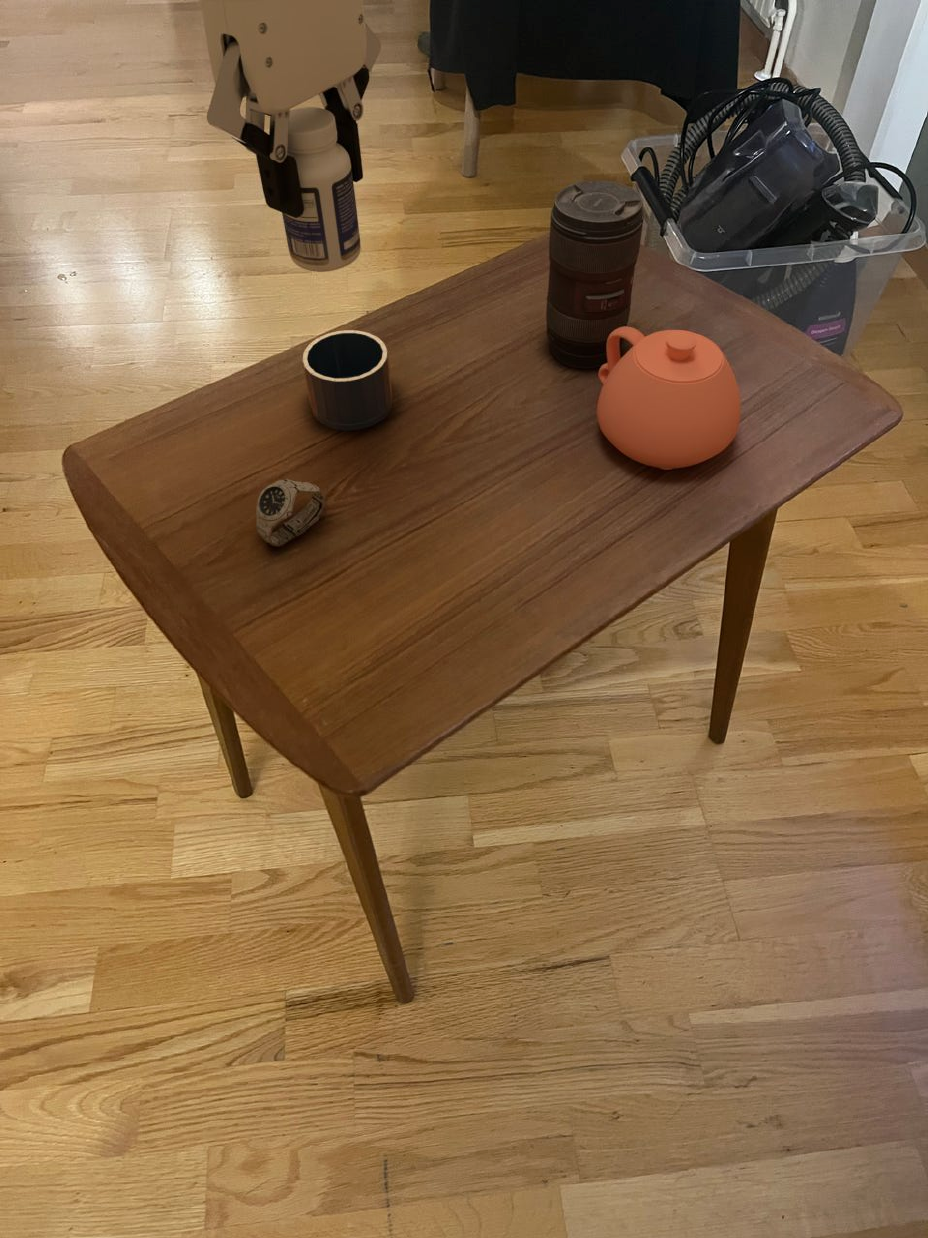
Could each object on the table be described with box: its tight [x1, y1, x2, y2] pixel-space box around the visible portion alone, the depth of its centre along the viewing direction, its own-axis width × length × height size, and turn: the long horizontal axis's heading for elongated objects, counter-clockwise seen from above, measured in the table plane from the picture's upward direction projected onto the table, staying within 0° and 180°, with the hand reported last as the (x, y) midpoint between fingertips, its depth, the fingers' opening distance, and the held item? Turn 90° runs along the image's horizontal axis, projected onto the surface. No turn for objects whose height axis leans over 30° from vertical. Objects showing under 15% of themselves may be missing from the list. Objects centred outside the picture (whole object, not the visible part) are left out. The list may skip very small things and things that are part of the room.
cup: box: [301, 329, 394, 432], centre depth 83 cm, size 8×8×6 cm
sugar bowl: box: [596, 325, 742, 471], centre depth 78 cm, size 12×14×10 cm
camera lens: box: [545, 180, 645, 369], centre depth 84 cm, size 8×8×15 cm
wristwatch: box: [255, 478, 326, 548], centre depth 74 cm, size 4×6×5 cm, turn 135°
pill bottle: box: [281, 106, 362, 273], centre depth 65 cm, size 5×5×10 cm
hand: (315, 190), depth 65 cm, fingers closed on pill bottle, 5 cm apart
